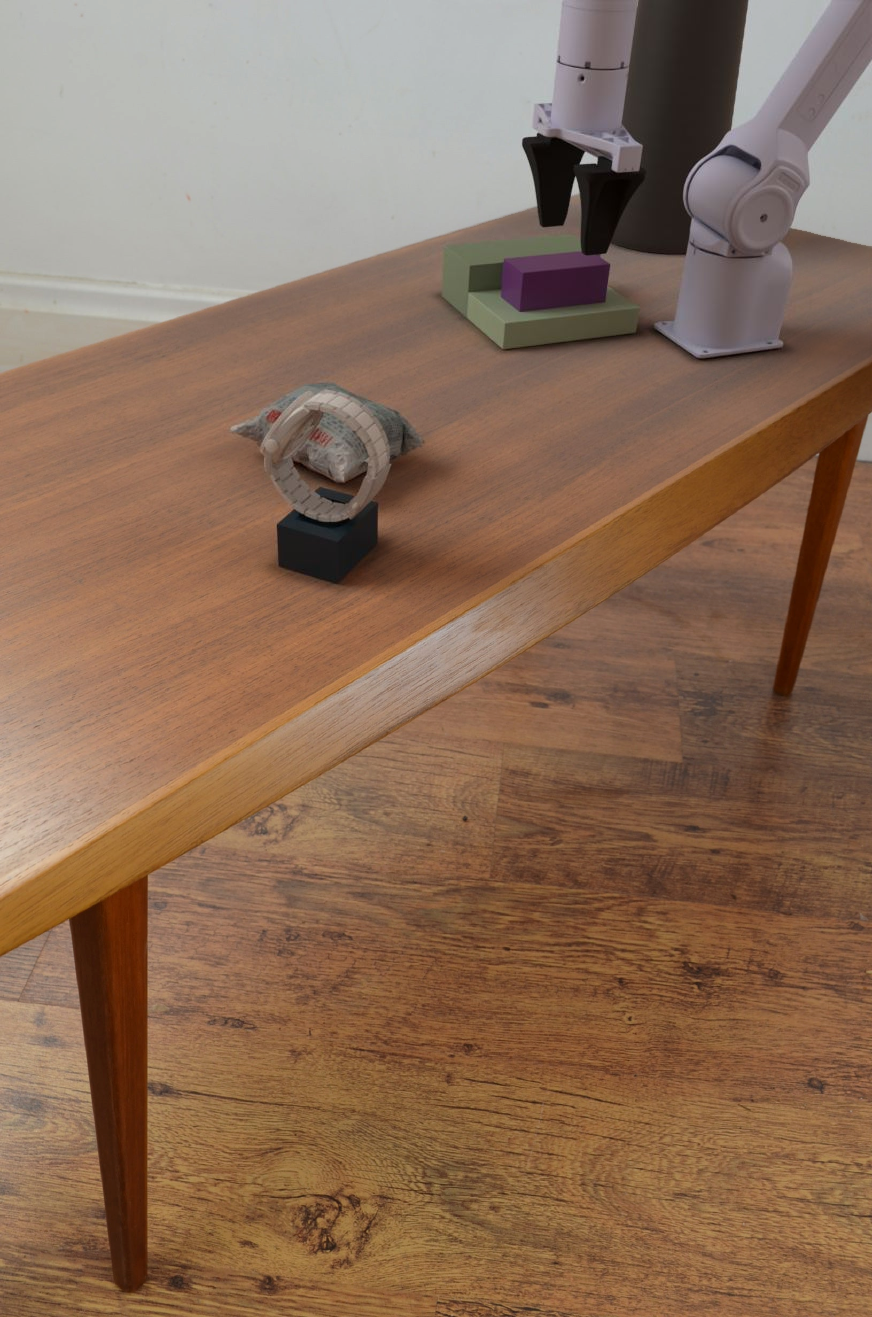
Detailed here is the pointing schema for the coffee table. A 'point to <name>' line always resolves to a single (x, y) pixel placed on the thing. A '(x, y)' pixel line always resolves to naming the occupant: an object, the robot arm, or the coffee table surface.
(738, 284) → the robot arm
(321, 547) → the watch
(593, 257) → the purple rectangular block
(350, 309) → the coffee table surface
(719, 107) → the vase
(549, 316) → the step shelf
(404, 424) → the packaged food
